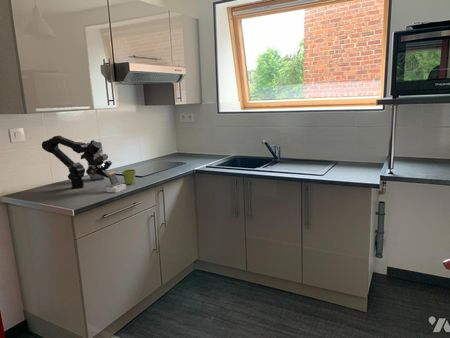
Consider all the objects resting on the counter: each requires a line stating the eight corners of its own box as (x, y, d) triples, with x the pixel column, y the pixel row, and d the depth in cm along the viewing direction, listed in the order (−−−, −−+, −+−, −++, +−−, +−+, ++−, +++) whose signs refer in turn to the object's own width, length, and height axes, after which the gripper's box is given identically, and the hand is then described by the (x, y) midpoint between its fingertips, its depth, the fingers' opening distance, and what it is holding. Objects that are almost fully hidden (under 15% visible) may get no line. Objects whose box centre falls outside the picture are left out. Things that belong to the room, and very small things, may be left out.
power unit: (106, 191, 209) (106, 185, 208) (116, 187, 218) (116, 181, 217) (116, 192, 206) (115, 185, 206) (126, 188, 216) (125, 181, 215)
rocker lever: (111, 186, 209) (106, 173, 209) (117, 184, 214) (112, 171, 214) (114, 186, 209) (108, 172, 208) (119, 183, 214) (114, 171, 213)
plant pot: (125, 186, 221) (124, 172, 220) (120, 183, 229) (119, 170, 227) (139, 183, 227) (138, 170, 225) (134, 181, 234) (132, 168, 232)
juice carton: (89, 178, 246) (85, 140, 240) (105, 177, 249) (101, 139, 244) (89, 181, 238) (85, 142, 232) (105, 179, 241) (101, 141, 236)
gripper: (87, 152, 202) (105, 171, 201) (108, 148, 219) (124, 165, 218) (78, 165, 206) (95, 184, 205) (99, 159, 223) (115, 177, 222)
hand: (108, 177), depth 212 cm, fingers closed
